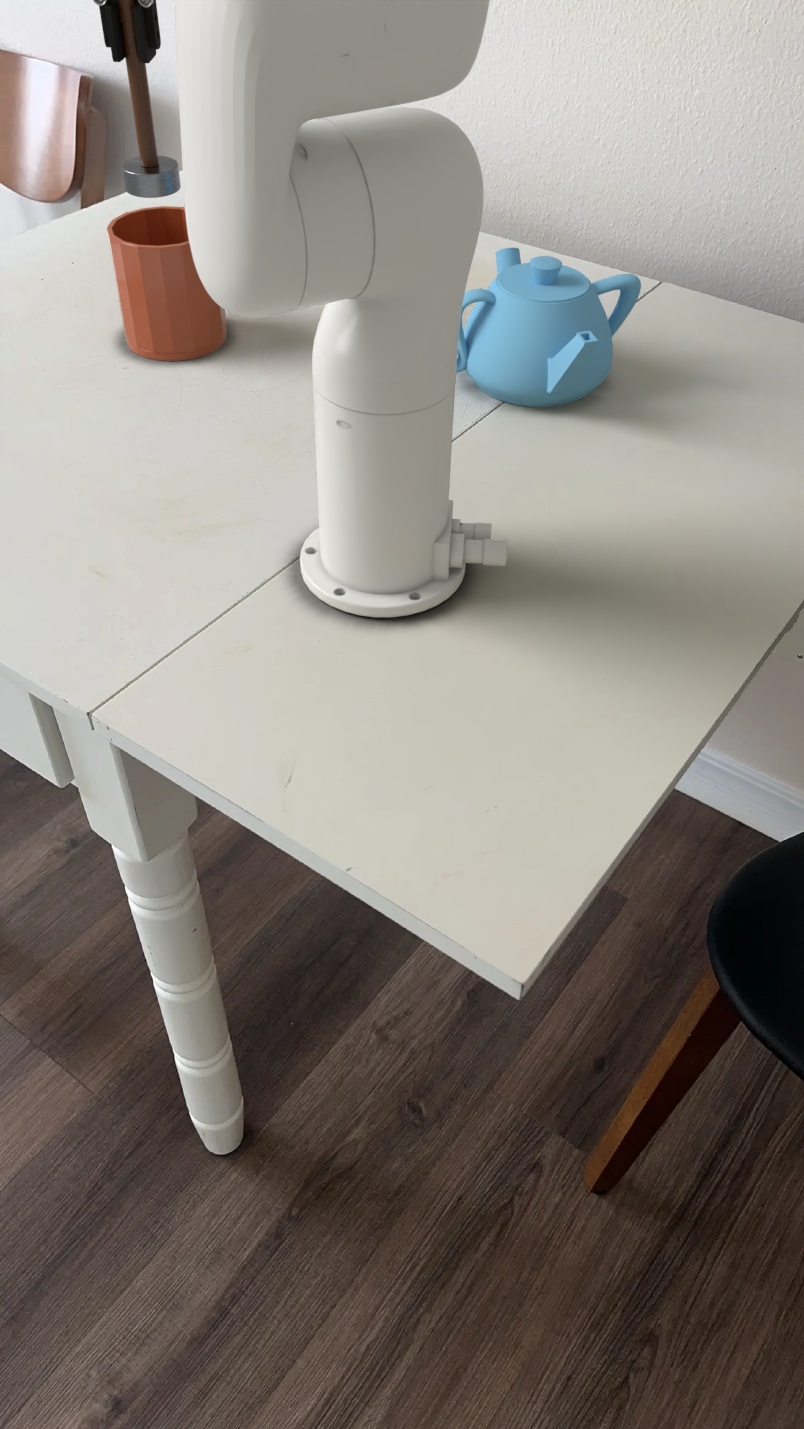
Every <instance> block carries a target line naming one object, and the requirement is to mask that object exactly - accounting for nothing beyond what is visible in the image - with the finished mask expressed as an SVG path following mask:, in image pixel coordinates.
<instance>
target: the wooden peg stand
mask: <svg viewBox="0 0 804 1429" xmlns="http://www.w3.org/2000/svg"><path fill="white" fill-rule="evenodd" d="M117 3H118V10H119V17H120V24H121V31H122V38H123V45H124V52H125V58H124V59H125V65H126V72H127V79H128V85H129V86H128V87H129V93H130V99H131V100H130V102H131V107H132V112H133V113H132V114H133V115H132V116H133V120H134V128H135V134H136V142H137V148H138V149H137V150H138V155H139V156H135V157H131V158H129V159H127V160H125V161H123V163H121V171H122V179H123V186H124V190H125V192H126V193H127V194H129V195H131V196H133V197H138V198H144V199H145V198H147V199H156V198H157V199H158V198H164V197H168V196H171V195H173V194H176V193H177V192H179V191H180V190H181V188H182V186H181V176H180V169H179V163H178V161H177V160H176V159H174V158H172V157H169V156H165V155H159V154H158V147H157V140H156V133H155V125H154V124H155V123H154V117H153V110H152V102H151V93H150V87H149V79H148V72H147V63H142V61H140V60H139V53H138V46H137V38H136V31H135V24H134V16H133V8H134V7H135V6H136V5H137V3H136V0H117Z"/></svg>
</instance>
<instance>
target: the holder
mask: <svg viewBox="0 0 804 1429" xmlns="http://www.w3.org/2000/svg"><path fill="white" fill-rule="evenodd" d="M106 233H107V240H108V247H109V251H110V258H111V262H112V269H113V275H114V281H115V285H116V286H115V287H116V291H117V298H118V304H119V309H120V315H121V321H122V326H123V332H124V335H125V340H126V345H127V347H128V348H129V349H130V351H132V352H133V353H134V354H137V355H138V356H139V357H143V358H146V359H150V360H155V361H164V362H176V361H177V362H180V361H189V360H193V359H197V358H201V357H204V356H207V355H209V354H211V353H213V352H216V351H217V350H218V349H220V348H221V347H222V346H223V345H224V343H225V342H226V340H227V336H228V334H227V328H228V325H227V318H226V317H227V316H226V310H224V309H223V308H222V307H220V306H219V305H218V304H217V303H216V302H215V301H214V300H213V299H212V298H211V297H210V295H209V294H208V293H207V291H206V289H205V288H204V286H203V284H202V282H201V280H200V278H199V275H198V273H197V270H196V267H195V264H194V261H193V257H192V252H191V248H190V243H189V238H188V232H187V224H186V215H185V206H172V205H171V206H170V205H164V206H163V205H162V206H151V207H142V208H138V209H135V210H131V211H127V212H124V213H122V214H120V215H119V216H117V217H114V218H113V219H112V220H110V222H109V223H108V225H107V227H106Z"/></svg>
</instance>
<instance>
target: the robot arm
mask: <svg viewBox="0 0 804 1429" xmlns="http://www.w3.org/2000/svg"><path fill="white" fill-rule="evenodd" d="M92 1H93V3H94V4H96V5H97V6H98V8H99V14H100V22H101V27H102V28H101V29H102V34H103V41H104V45H105V47H106V48H110V51H111V57H112V61H113V63H121V62H122V61H123V60H124V59H125V52H124V45H123V38H122V31H121V24H120V17H119V10H118V3H117V0H92ZM490 2H491V0H174V33H175V35H174V36H175V52H176V54H175V55H176V67H177V68H176V72H177V90H178V92H177V93H178V107H179V108H178V109H179V110H178V111H179V127H180V129H179V130H180V146H181V148H180V149H181V166H182V167H181V169H182V186H183V201H184V202H183V203H184V207H185V215H186V224H187V232H188V238H189V243H190V248H191V252H192V257H193V261H194V264H195V267H196V270H197V273H198V275H199V278H200V280H201V282H202V284H203V286H204V288H205V289H206V291H207V293H208V294H209V295H210V297H211V298H212V299H213V300H214V301H215V302H216V303H217V304H218V305H219V306H220V307H222V308H223V309H224V310H225V312H227V313H229V314H232V315H235V316H237V317H242V318H253V319H256V318H257V319H259V318H268V317H273V316H278V315H284V314H288V313H293V312H297V311H301V310H306V309H309V308H315V307H318V306H319V307H320V306H323V305H324V308H323V311H322V312H321V315H320V317H319V320H318V324H317V327H316V332H315V336H314V340H313V344H312V345H313V346H312V352H311V353H312V355H311V372H312V373H311V375H312V397H313V419H314V442H315V443H314V444H315V462H316V463H315V464H316V486H317V505H318V508H317V509H318V527H317V528H315V529H314V530H312V532H311V533H310V534H309V535H308V537H307V538H306V539H305V541H304V542H303V545H302V546H301V549H300V556H299V562H300V564H299V565H300V573H301V576H302V579H303V583H305V585H306V586H307V588H308V589H309V591H310V592H311V593H312V594H313V595H315V596H316V597H317V598H318V599H319V600H320V601H322V602H324V603H326V604H327V605H328V606H330V607H332V608H335V609H338V610H340V611H343V612H345V613H349V614H352V615H355V616H356V615H357V616H360V617H370V618H398V617H407V616H410V615H411V616H412V615H414V614H417V613H422V612H425V611H428V610H429V609H432V608H435V607H437V606H438V605H441V603H443V602H445V601H446V600H448V599H449V598H450V597H451V596H452V595H453V594H455V592H457V590H458V589H459V587H460V586H461V584H462V582H463V580H464V577H465V574H466V564H478V565H481V566H494V567H495V566H496V567H507V560H508V544H509V542H508V539H493V538H492V526H493V524H492V523H490V522H489V523H488V522H475V523H473V522H461V518H453V516H454V515H453V513H454V512H453V511H454V500H452V499H450V488H451V486H450V484H451V468H452V451H453V450H452V448H453V434H454V432H453V430H454V415H455V396H456V383H457V373H456V368H457V358H458V354H457V352H458V339H459V328H460V319H461V311H462V305H463V299H464V293H465V292H466V287H467V283H468V279H469V276H470V275H469V274H470V271H471V268H472V267H471V266H472V263H473V261H474V256H475V252H476V248H477V244H478V239H479V235H480V231H481V226H482V220H483V211H484V196H485V194H484V193H485V192H484V191H485V190H484V179H483V173H482V167H481V165H480V159H479V157H478V154H477V151H476V149H475V147H474V145H473V143H472V141H471V140H470V139H469V137H468V135H467V134H466V133H465V131H463V130H462V128H460V126H459V125H458V124H457V123H455V122H454V121H452V120H451V119H450V118H448V117H446V116H444V115H442V114H440V113H438V112H435V111H432V110H430V109H427V108H426V109H425V108H421V107H420V108H419V107H410V106H409V107H406V106H399V105H405V104H406V105H407V104H410V103H414V102H419V101H424V100H428V99H431V98H435V97H438V96H441V95H443V94H445V93H447V92H450V91H451V90H453V89H455V88H457V87H458V86H459V85H460V84H461V83H462V82H464V80H465V79H466V78H467V77H468V76H469V74H470V73H471V71H472V69H473V67H474V64H475V62H476V61H477V59H478V58H477V57H478V54H479V51H480V48H481V45H482V41H483V38H484V37H483V36H484V31H485V27H486V23H487V18H488V12H489V7H490ZM136 3H137V5H136V6H135V7H134V8H133V16H134V24H135V31H136V38H137V46H138V53H139V60H140V61H142V63H146V64H150V63H151V61H152V60H153V59H154V58H155V57H156V55H157V50H160V49H161V45H162V42H161V40H162V38H161V30H160V23H159V22H160V21H159V14H158V7H157V0H136ZM491 538H492V539H491Z"/></svg>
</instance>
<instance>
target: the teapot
mask: <svg viewBox="0 0 804 1429" xmlns="http://www.w3.org/2000/svg"><path fill="white" fill-rule="evenodd" d="M495 260H496V262H495V263H496V273H497V274H496V277H495V278H494V279H493V280H492V281H491V282H490V283H489V284H488V286H487V287H486V288H485V289H484V288H474V289H470V290H467V291H465V293H464V299H463V305H462V311H461V319H460V328H459V339H458V352H457V368H456V374H458V373H462V372H463V371H465V372H466V374H467V375H468V376H469V378H470V379H471V380H472V381H473V383H474V384H475V385H476V386H477V387H478V388H479V389H480V390H481V391H482V392H484V394H486V395H488V396H490V397H492V398H493V399H496V400H499V401H500V402H504V403H507V404H512V405H515V406H516V405H517V406H520V407H521V406H522V407H530V408H549V407H558V406H564V405H568V404H571V403H574V402H577V401H579V400H581V399H583V398H584V397H586V396H587V395H589V394H590V393H591V392H593V391H594V390H596V388H598V387H599V386H600V385H601V384H602V383H603V382H604V381H605V380H606V378H607V377H608V375H609V373H610V372H611V369H612V365H613V357H614V356H613V355H614V348H613V347H614V346H613V337H614V336H615V334H616V333H617V332H618V330H619V329H620V327H621V326H622V325H623V323H624V322H625V321H626V319H627V318H628V316H629V315H630V313H631V312H632V311H633V309H634V307H635V306H636V303H637V301H638V299H639V296H640V293H641V289H642V282H641V279H640V277H639V276H638V275H635V274H633V273H621V274H615V275H612V276H608V277H606V278H602V279H599V280H597V281H595V282H591V280H590V279H589V278H588V277H587V276H586V274H584V273H583V272H581V271H579V270H577V268H576V269H575V268H573V267H571V266H568V265H563V261H561V260H560V259H559V258H558V257H557V258H556V257H555V256H551V255H539V256H535V257H532V258H531V259H529V262H522V259H521V253H520V248H518V247H505V248H501V249H499V250H497V251H495ZM618 290H619V296H618V299H617V302H616V304H615V306H614V309H613V310H612V313H611V314H610V315H609V318H608V315H607V313H606V310H605V308H604V305H603V304H602V301H601V299H600V297H599V296H600V295H604V294H606V293H609V292H613V291H618ZM474 303H475V304H474ZM472 304H474V306H473V308H472V310H471V312H470V313H469V315H468V318H467V320H466V322H465V326H464V328H463V314H464V311H465V310H466V308H468V306H470V305H472Z"/></svg>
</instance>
